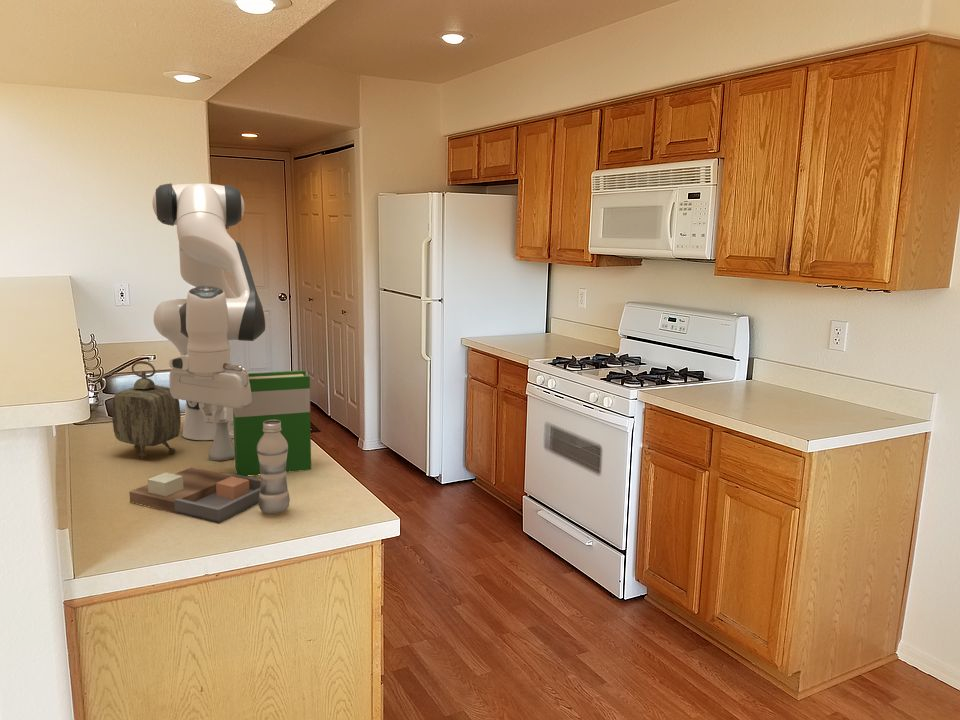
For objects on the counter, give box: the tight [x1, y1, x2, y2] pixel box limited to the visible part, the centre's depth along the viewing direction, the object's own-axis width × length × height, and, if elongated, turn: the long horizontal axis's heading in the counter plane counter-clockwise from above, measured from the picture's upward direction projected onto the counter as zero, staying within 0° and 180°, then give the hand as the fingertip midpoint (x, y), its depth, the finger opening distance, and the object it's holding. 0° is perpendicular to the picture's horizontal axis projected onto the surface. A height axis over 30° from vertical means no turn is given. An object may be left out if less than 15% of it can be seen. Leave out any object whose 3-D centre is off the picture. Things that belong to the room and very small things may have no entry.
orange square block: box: [216, 476, 250, 500], centre depth 165 cm, size 5×5×3 cm
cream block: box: [147, 472, 183, 496], centre depth 161 cm, size 5×5×3 cm
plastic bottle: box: [257, 420, 291, 515], centre depth 155 cm, size 6×7×20 cm
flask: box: [207, 419, 235, 462], centre depth 191 cm, size 7×7×10 cm
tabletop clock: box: [111, 360, 182, 459], centre depth 189 cm, size 14×9×25 cm, turn 75°
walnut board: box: [129, 466, 232, 514], centre depth 166 cm, size 18×13×2 cm
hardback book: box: [233, 370, 312, 477], centre depth 182 cm, size 18×7×24 cm, turn 112°
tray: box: [174, 473, 261, 525], centre depth 161 cm, size 18×12×3 cm, turn 157°
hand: (211, 422), depth 163 cm, fingers closed
